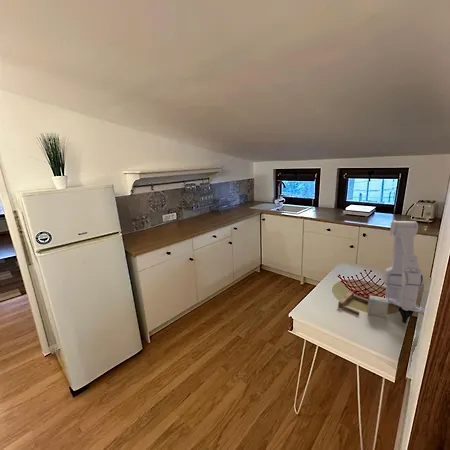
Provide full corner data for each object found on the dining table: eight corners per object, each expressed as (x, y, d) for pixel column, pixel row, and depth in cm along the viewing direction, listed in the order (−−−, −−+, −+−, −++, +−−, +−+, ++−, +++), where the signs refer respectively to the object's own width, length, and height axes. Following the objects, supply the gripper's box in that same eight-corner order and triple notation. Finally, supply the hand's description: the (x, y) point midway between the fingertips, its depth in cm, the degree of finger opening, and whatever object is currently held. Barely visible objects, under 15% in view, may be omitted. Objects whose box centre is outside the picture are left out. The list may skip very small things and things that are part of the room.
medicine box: (385, 312, 126) (387, 297, 123) (386, 318, 122) (389, 302, 119) (367, 309, 129) (369, 294, 126) (367, 314, 125) (369, 299, 123)
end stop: (349, 295, 141) (350, 290, 140) (369, 302, 134) (369, 297, 133) (338, 306, 133) (338, 301, 132) (358, 315, 125) (358, 310, 124)
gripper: (387, 293, 115) (383, 319, 119) (427, 307, 105) (421, 334, 109) (392, 287, 120) (388, 312, 124) (430, 299, 109) (425, 325, 114)
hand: (404, 321), depth 117 cm, fingers closed
